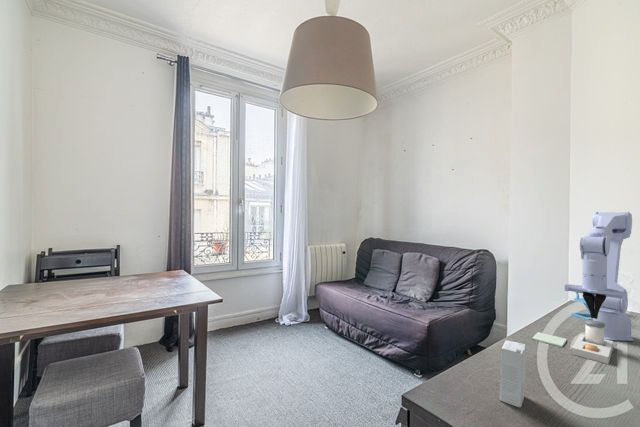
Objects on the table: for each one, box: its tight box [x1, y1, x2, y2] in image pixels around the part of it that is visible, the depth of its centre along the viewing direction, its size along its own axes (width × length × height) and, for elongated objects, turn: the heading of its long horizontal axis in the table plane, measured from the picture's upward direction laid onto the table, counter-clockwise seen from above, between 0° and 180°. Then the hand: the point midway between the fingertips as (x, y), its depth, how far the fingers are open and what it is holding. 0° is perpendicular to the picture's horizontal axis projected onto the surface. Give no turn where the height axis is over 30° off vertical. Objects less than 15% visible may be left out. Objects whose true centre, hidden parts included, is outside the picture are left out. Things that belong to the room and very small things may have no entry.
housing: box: [571, 333, 614, 365], centre depth 94 cm, size 16×8×2 cm, turn 132°
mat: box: [531, 331, 568, 348], centre depth 102 cm, size 8×8×1 cm
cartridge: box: [584, 320, 605, 346], centre depth 96 cm, size 5×5×8 cm
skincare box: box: [499, 339, 527, 408], centre depth 69 cm, size 6×4×12 cm
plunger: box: [585, 344, 597, 352], centre depth 91 cm, size 3×3×2 cm
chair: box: [570, 291, 593, 321], centre depth 125 cm, size 8×8×12 cm
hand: (594, 317), depth 96 cm, fingers closed
